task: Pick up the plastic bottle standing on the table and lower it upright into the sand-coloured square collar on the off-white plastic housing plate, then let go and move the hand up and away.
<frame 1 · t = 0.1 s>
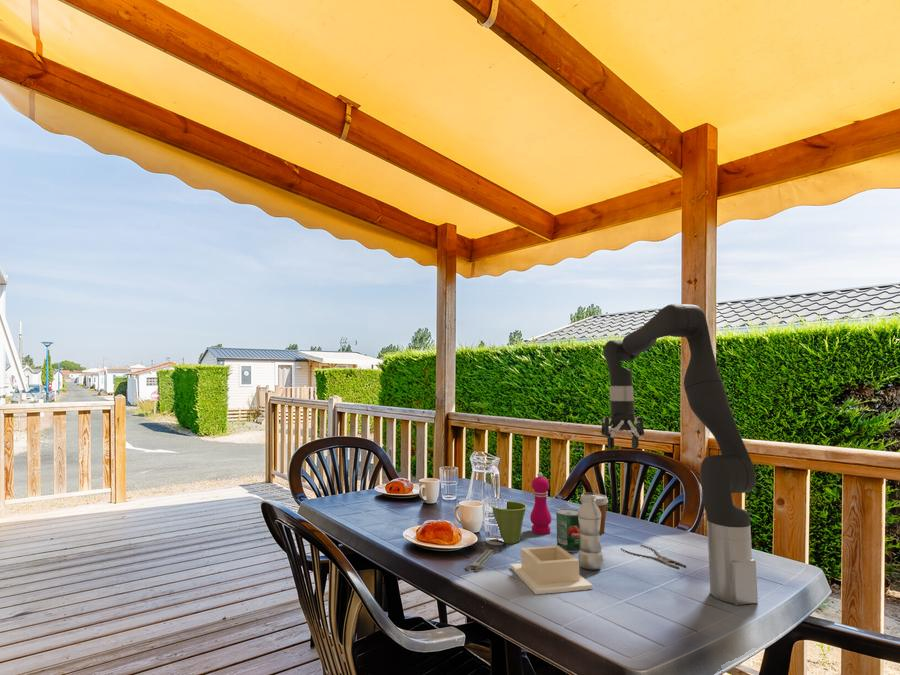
hand: (623, 448, 165), 29 cm above the table, tool pointing down, fingers open, 8 cm apart
canned tomato: (569, 548, 154), on the table
housing: (549, 577, 130), on the table
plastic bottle: (590, 569, 137), on the table
pepper mill: (541, 532, 171), on the table
plant pot: (509, 541, 161), on the table
wrench: (483, 561, 144), on the table
disposable coffee cup: (594, 532, 171), on the table
pliers: (657, 558, 147), on the table
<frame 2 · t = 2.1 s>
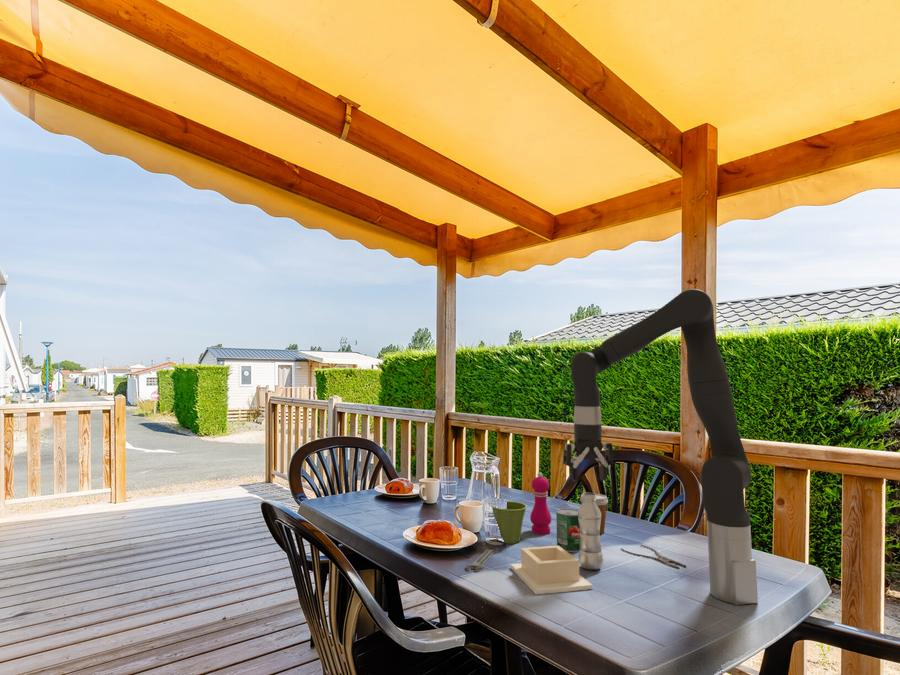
hand: (588, 480, 139), 24 cm above the table, tool pointing down, fingers open, 8 cm apart
nothing on the table moved.
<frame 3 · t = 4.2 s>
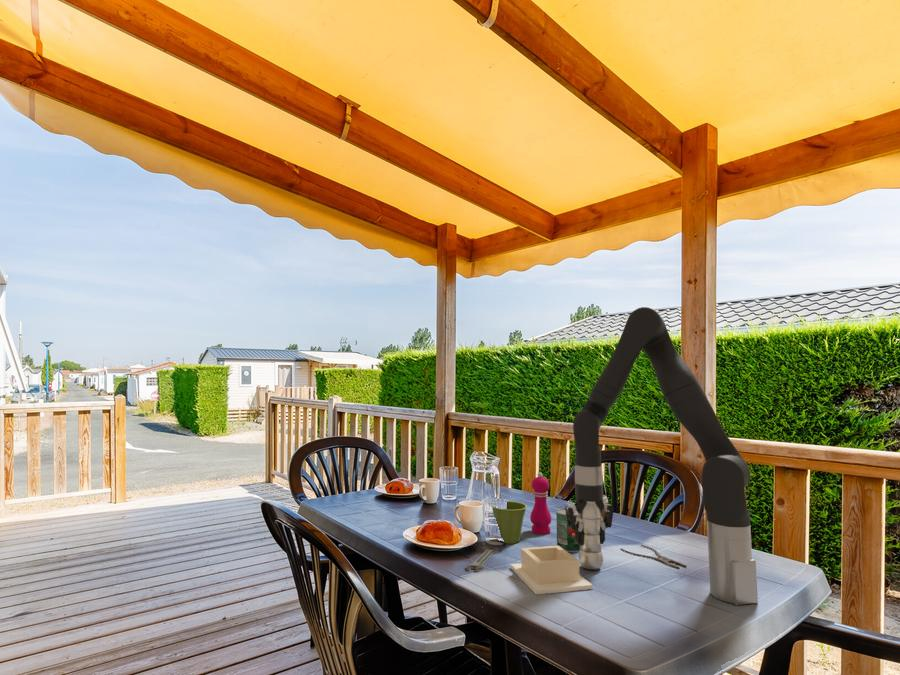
hand: (590, 543, 138), 7 cm above the table, tool pointing down, fingers closed on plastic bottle, 5 cm apart
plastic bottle: (590, 569, 137), on the table, touching gripper
everything else where it was.
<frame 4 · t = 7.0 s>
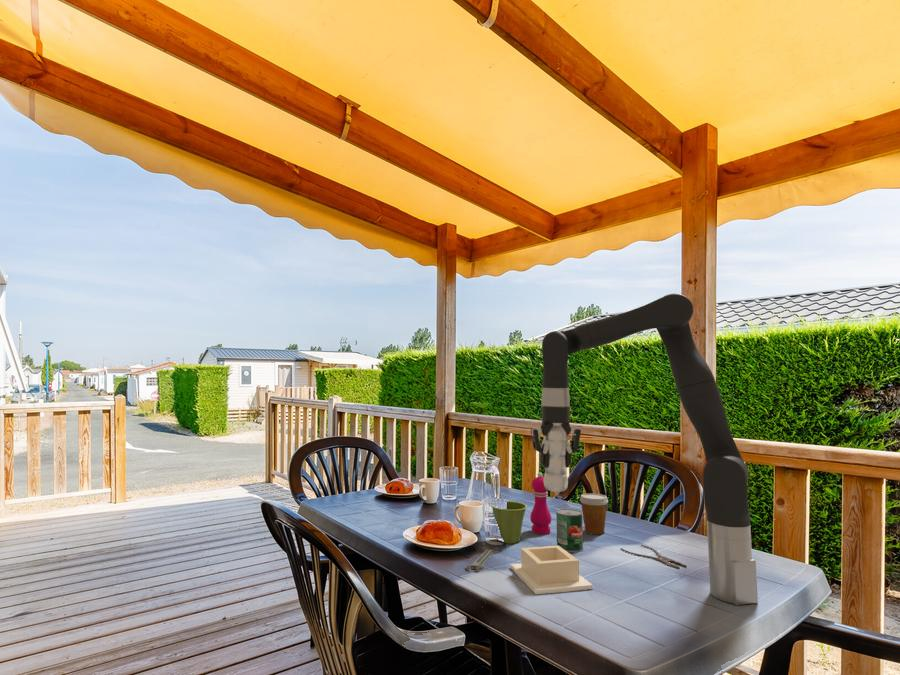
hand: (555, 467, 135), 28 cm above the table, tool pointing down, fingers closed on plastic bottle, 5 cm apart
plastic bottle: (555, 492, 134), point 21 cm above the table, touching gripper
everything else where it was.
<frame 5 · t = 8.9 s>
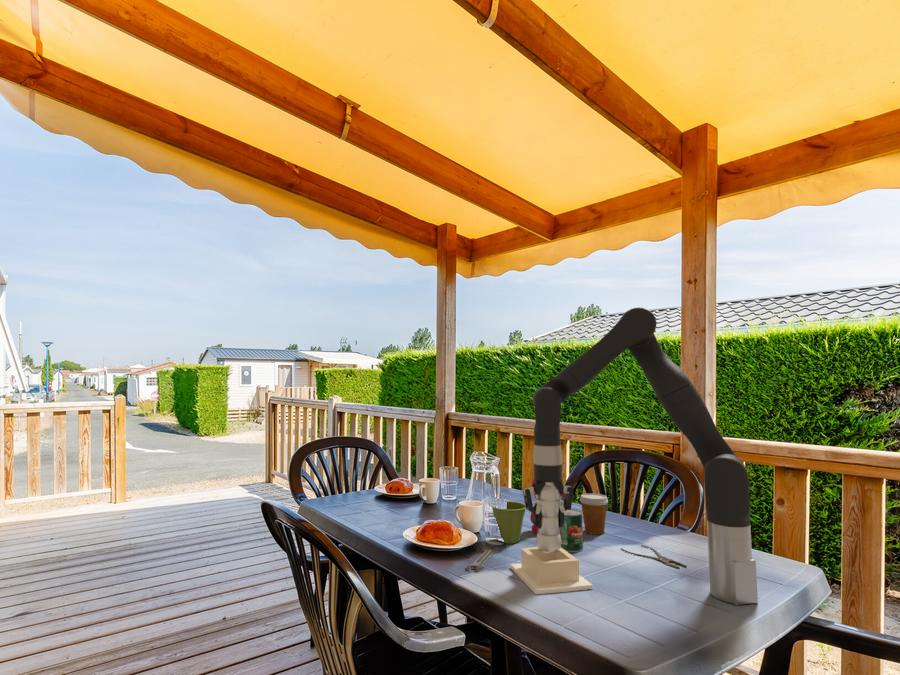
hand: (548, 526, 131), 13 cm above the table, tool pointing down, fingers closed on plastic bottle, 5 cm apart
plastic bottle: (548, 553, 131), point 6 cm above the table, touching gripper
everything else where it was.
when the fingers open (9 cm above the table, at t = 10.2 s): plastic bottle drops 1 cm, resting on housing.
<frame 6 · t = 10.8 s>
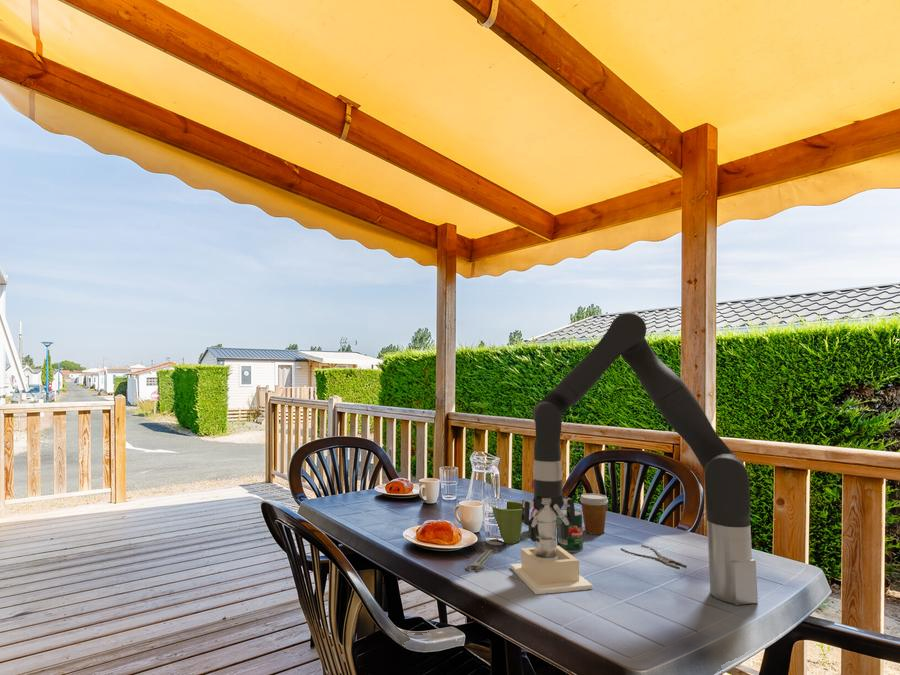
hand: (548, 540, 131), 10 cm above the table, tool pointing down, fingers open, 8 cm apart
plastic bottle: (546, 574, 130), point 1 cm above the table, touching housing
everything else where it was.
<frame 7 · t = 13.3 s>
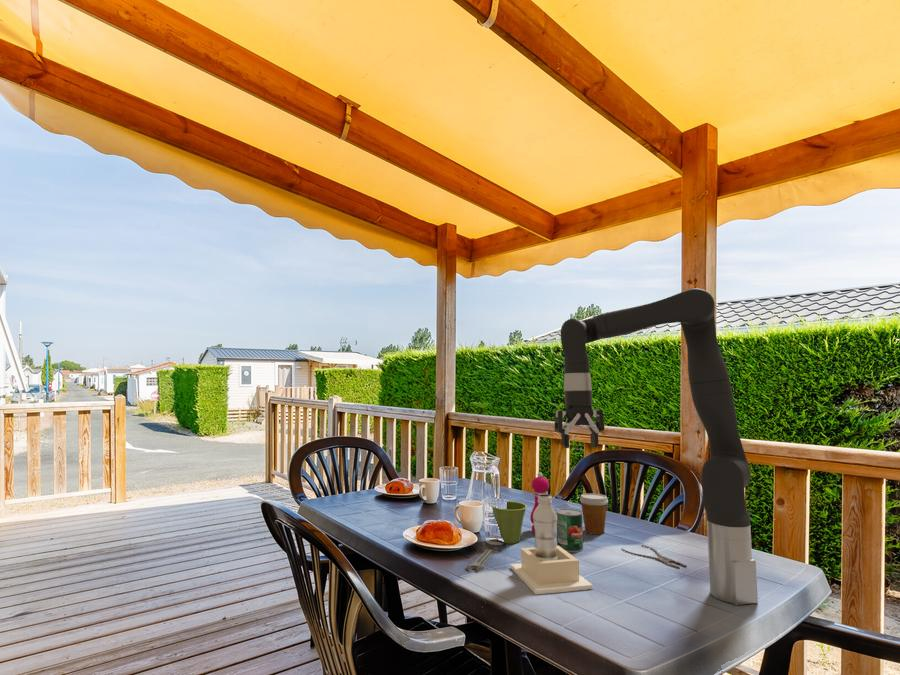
hand: (580, 447, 139), 33 cm above the table, tool pointing down, fingers open, 8 cm apart
nothing on the table moved.
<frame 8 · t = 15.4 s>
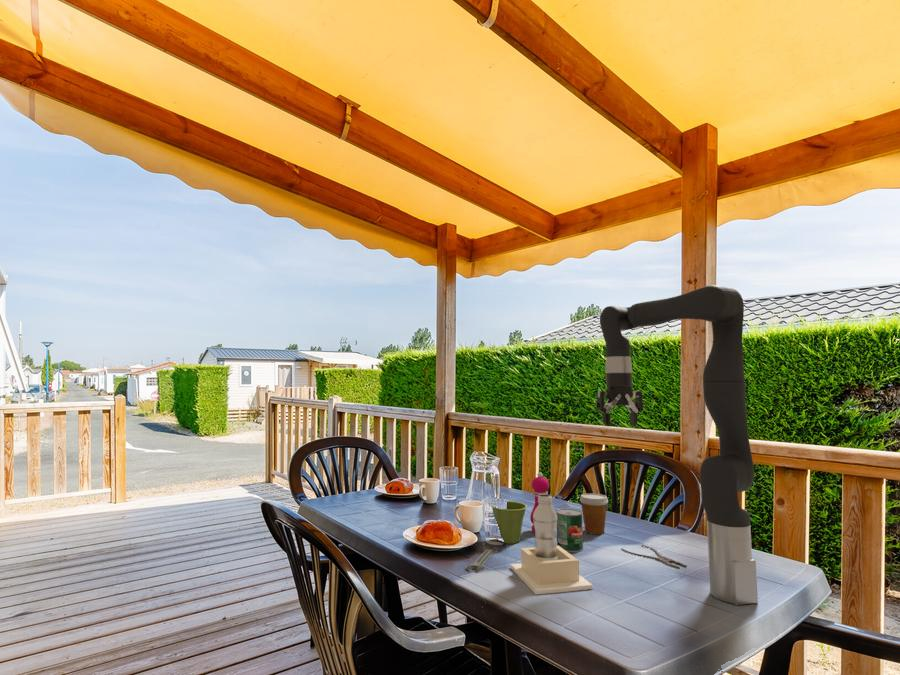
hand: (620, 425, 149), 38 cm above the table, tool pointing down, fingers open, 8 cm apart
nothing on the table moved.
at the end: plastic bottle 0.8 cm off-centre on the housing, point 0.8 cm above the housing's base; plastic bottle tilted 0°; the gripper is holding nothing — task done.
